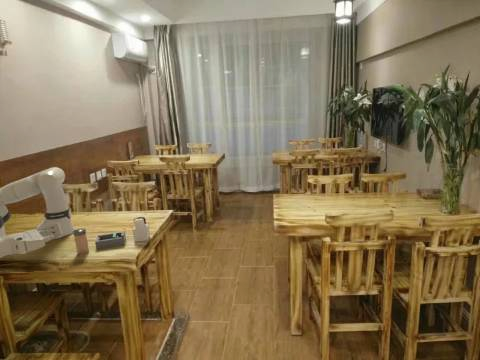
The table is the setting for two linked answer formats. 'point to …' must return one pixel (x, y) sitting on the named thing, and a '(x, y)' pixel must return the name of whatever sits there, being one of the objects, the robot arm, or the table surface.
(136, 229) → the medicine bottle
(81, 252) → the terracotta jar
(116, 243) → the grey rectangular box
